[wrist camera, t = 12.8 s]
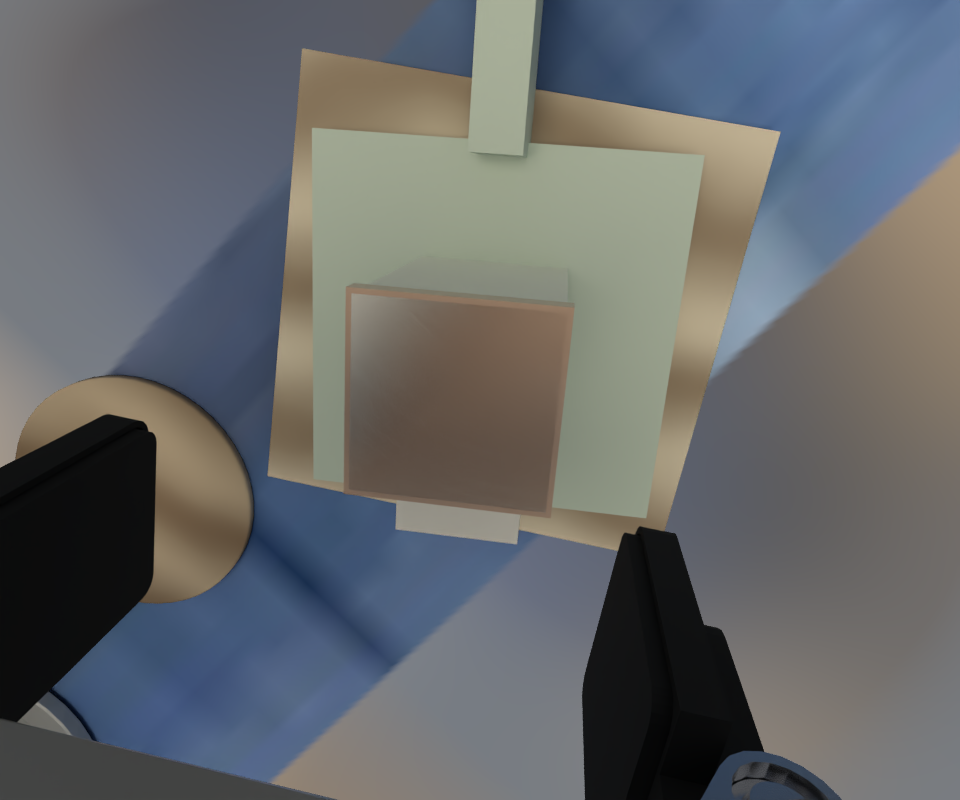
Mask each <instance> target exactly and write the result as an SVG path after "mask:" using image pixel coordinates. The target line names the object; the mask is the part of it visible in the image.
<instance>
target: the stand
mask: <svg viewBox="0 0 960 800" xmlns="http://www.w3.org/2000/svg"><path fill="white" fill-rule="evenodd" d="M301 58H302V59H301V71H300V82H299V83H300V84H299V95H298V107H297V120H296V133H295V144H294V156H293V169H292V181H291V193H290V206H289V218H288V231H287V243H286V255H285V268H284V280H283V292H282V305H281V317H280V329H279V342H278V354H277V367H276V379H275V391H274V404H273V416H272V428H271V441H270V453H269V465H268V476H270V477H274V478H279V479H284V480H288V481H293V482H298V483H302V484H307V485H312V486H316V487H321V488H326V489H331V490H335V491H340V492H344V483H341V482H333V481H324V480H316V479H313V257H312V128H322V129H337V130H351V131H365V132H380V133H394V134H408V135H423V136H437V137H451V138H466V139H468V137H469V120H470V104H471V87H472V78H469V77H463V76H457V75H452V74H446V73H440V72H435V71H429V70H423V69H417V68H412V67H406V66H400V65H394V64H389V63H383V62H377V61H371V60H366V59H360V58H353V57H348V56H342V55H337V54H331V53H326V52H320V51H314V50H308V49H302V57H301ZM779 135H780V132H778V131H773V130H767V129H761V128H755V127H750V126H744V125H738V124H732V123H727V122H721V121H715V120H709V119H704V118H698V117H692V116H687V115H681V114H675V113H669V112H664V111H658V110H652V109H646V108H641V107H635V106H629V105H624V104H618V103H612V102H606V101H601V100H595V99H589V98H583V97H578V96H572V95H566V94H561V93H555V92H549V91H543V90H538V89H536V90H535V101H534V113H533V124H532V136H531V143H537V144H552V145H566V146H580V147H595V148H609V149H623V150H638V151H652V152H666V153H681V154H695V155H705V157H704V163H703V169H702V176H701V182H700V188H699V194H698V200H697V207H696V213H695V219H694V225H693V231H692V238H691V244H690V250H689V256H688V262H687V269H686V275H685V281H684V287H683V293H682V300H681V306H680V312H679V318H678V324H677V331H676V337H675V343H674V349H673V355H672V362H671V368H670V374H669V380H668V386H667V393H666V399H665V405H664V411H663V418H662V424H661V430H660V436H659V442H658V449H657V455H656V461H655V467H654V473H653V480H652V486H651V492H650V498H649V504H648V511H647V517H646V518H638V517H630V516H621V515H613V514H604V513H596V512H587V511H579V510H570V509H562V508H553V507H552V511H551V518H543V517H535V516H527V515H521V519H520V526H519V530H522V531H527V532H532V533H536V534H541V535H546V536H550V537H555V538H560V539H564V540H569V541H574V542H579V543H583V544H588V545H593V546H597V547H603V548H607V549H612V550H616V551H618V549H619V545H620V542H621V538H622V536H623V534H624V533H630V534H635V533H636V531H637V528H638V527H639V526H641V527H646V528H651V529H656V530H660V531H665V527H666V524H667V520H668V517H669V513H670V510H671V507H672V503H673V500H674V496H675V493H676V489H677V486H678V483H679V479H680V476H681V472H682V469H683V465H684V462H685V459H686V455H687V452H688V448H689V445H690V441H691V438H692V434H693V431H694V427H695V424H696V421H697V417H698V414H699V410H700V407H701V403H702V400H703V397H704V393H705V390H706V386H707V383H708V379H709V376H710V373H711V369H712V366H713V362H714V359H715V355H716V352H717V349H718V345H719V342H720V338H721V335H722V331H723V328H724V324H725V321H726V318H727V314H728V311H729V307H730V304H731V300H732V297H733V294H734V290H735V287H736V283H737V280H738V276H739V273H740V269H741V266H742V263H743V259H744V256H745V252H746V249H747V245H748V242H749V239H750V235H751V232H752V228H753V225H754V221H755V218H756V214H757V211H758V208H759V204H760V201H761V197H762V194H763V190H764V187H765V184H766V180H767V177H768V173H769V170H770V166H771V163H772V159H773V156H774V153H775V149H776V146H777V142H778V139H779ZM363 497H367V496H363ZM368 498H373V499H377V500H382V501H387V502H391V503H396V504H397V500H392V499H384V498H376V497H368Z"/></svg>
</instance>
